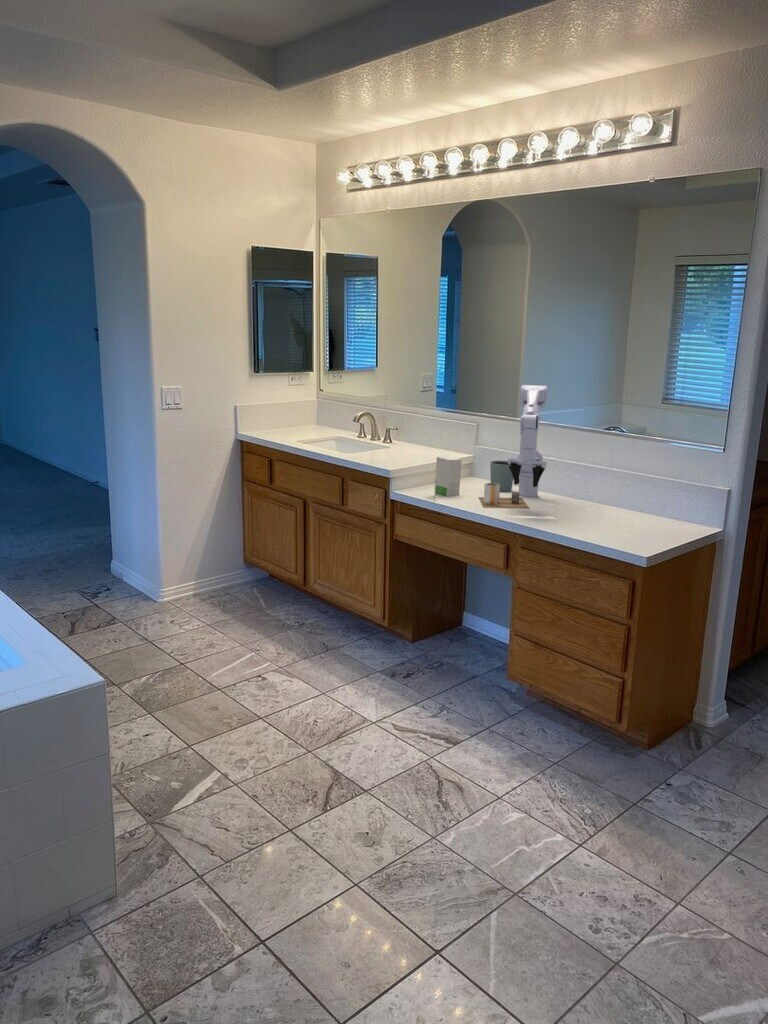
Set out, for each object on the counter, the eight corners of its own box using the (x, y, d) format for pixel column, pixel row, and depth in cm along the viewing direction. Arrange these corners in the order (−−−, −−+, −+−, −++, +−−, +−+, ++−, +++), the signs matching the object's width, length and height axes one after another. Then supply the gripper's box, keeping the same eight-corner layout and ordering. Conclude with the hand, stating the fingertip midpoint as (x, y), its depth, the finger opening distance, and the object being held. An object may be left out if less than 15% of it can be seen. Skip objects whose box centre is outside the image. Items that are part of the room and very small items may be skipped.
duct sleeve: (483, 500, 306) (483, 482, 304) (497, 501, 306) (498, 483, 304) (484, 504, 301) (485, 485, 299) (499, 504, 301) (500, 485, 299)
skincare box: (434, 495, 319) (435, 456, 316) (446, 493, 323) (447, 455, 320) (448, 499, 313) (449, 459, 309) (460, 497, 317) (462, 458, 313)
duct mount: (478, 499, 312) (478, 487, 311) (521, 500, 312) (522, 487, 311) (483, 510, 295) (484, 497, 294) (529, 511, 295) (530, 497, 294)
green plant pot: (485, 489, 332) (486, 460, 329) (507, 488, 335) (508, 459, 332) (495, 494, 323) (496, 465, 320) (518, 493, 326) (519, 464, 323)
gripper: (504, 447, 290) (502, 484, 293) (540, 450, 281) (538, 488, 284) (514, 446, 296) (512, 482, 298) (550, 449, 287) (547, 486, 289)
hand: (525, 485), depth 291 cm, fingers open, 7 cm apart
